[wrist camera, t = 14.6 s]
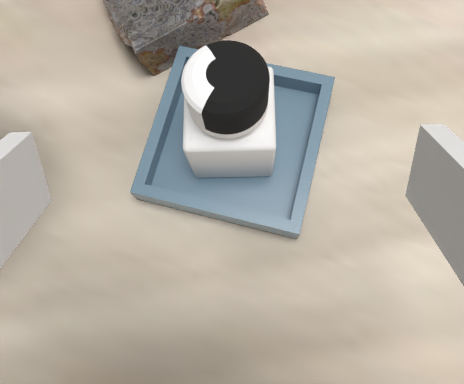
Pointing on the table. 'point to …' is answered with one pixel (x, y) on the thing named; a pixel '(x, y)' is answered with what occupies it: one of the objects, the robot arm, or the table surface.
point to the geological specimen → (178, 25)
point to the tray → (240, 188)
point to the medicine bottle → (229, 112)
